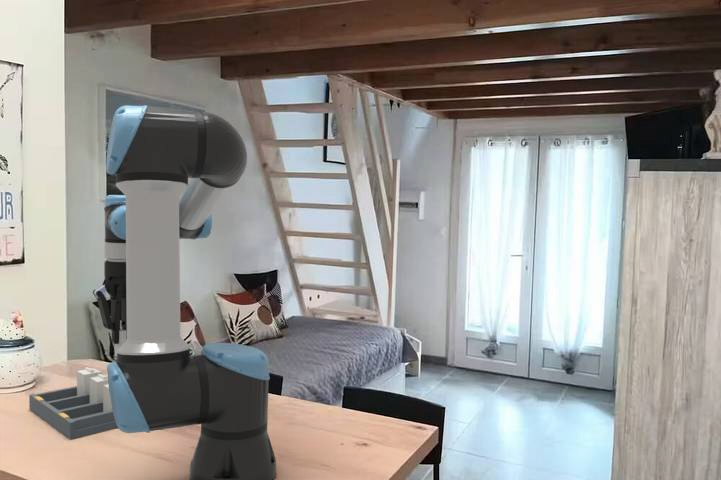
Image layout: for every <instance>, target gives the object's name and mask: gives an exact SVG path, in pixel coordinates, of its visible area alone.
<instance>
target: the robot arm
mask: <svg viewBox="0 0 721 480" xmlns="http://www.w3.org/2000/svg"><path fill="white" fill-rule="evenodd" d="M110 127H111V128H110V133H109V138H108V143H107V144H108V145H107V151H106V160H105V161H106V162H105V163H106V165H105V171H106V173H107V174H108V175H111V176H115V187H116V188H118V190H119V191H120V192H121V193H122V194H108V195H107V196H106V197H105V201H104V208H103V211H104V258H105V259H106V260H105V261H104V268H103V269H104V280H103V281H102V286H100V287H99V288H97V289H94V290H93V291H92V295H94V298H96V301H97V305H98V309H99V313H100V316H101V317H100V318H101V321H102V325H103V328H105V329H108V330H111V343H112V344H114V356H115V357H116V360H114V361H113V360H112V362H110V363H108V364H107V366H106V370H107V371H106V372H107V375H108V385H109V392H110V398H111V404H112V409H113V414H114V418H115V422H116V425H117V427H118V428H117V429H118V430H119V431H121V432H122V433H123V434H124V433H125V434H135V433H136V434H138V433H147V434H150V433H151V432H155V431H160V430H161V431H162V430H166V429H168V430H169V429H175V428H181V427H182V428H183V427H188V426H189V427H190V426H196V425H200V436H199V438H198V441H197V444H196V447H195V450H194V454H193V457H192V459H191V462H190V465H189V480H272V479H273V478H274V477H275V478H276V475H277V459H276V456H275V452H274V449H273V446H272V442H271V440H270V436H269V433H268V412H269V383H270V379H271V377H270V371H269V369H270V367H269V358H268V356H267V354H266V353H265V352H264V351H262V350H260V349H258V348H255V347H253V346H249V345H244V344H239V343H231V342H214V343H213V342H211V343H207V344H204V346H203V347H202V349H201V351H200V354H198V355H197V354H196V355H191V346H190V344H188V342H186V341H185V340H184V338H182V336H181V276H180V275H181V272H180V271H181V269H180V267H181V265H180V263H181V261H180V252H181V251H180V240H181V239H183V240H197V239H207V238H208V237H210V235H211V230H212V228H213V217H212V216H213V215H212V212H213V210H214V208H215V207H216V205H217V204H218V203H219V201H220V200H221V198H222V196H223V195H224V194H225V192H226V190H227V189H229V188H230V187H233V186H234V185H235V184H237V183H238V182H239V180H240V179H241V178H242V176H243V174H244V173H245V170H246V168H247V164H248V152H247V147H246V144H245V142H244V140H243V137H242V135H240V133H239V131H238V130H237V128H236V127H235V126H234V125H232V124H231V122H229V121H228V120H226V119H225V118H223V117H221V116H219V115H218V114H215V113H212V112H208V111H197V110H196V111H195V110H187V109H186V110H185V109H179V108H177V109H176V108H168V107H160V106H150V105H147V104H145V105H122V106H119V108H117V109H116V110H115V112H114V114H113V119H112V122H111V125H110ZM107 294H108V295H109V297H110V298H109V300H110V308H109V304H108V301H107V297H106V296H107ZM275 478H274V479H275ZM274 479H273V480H274Z"/></svg>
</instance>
